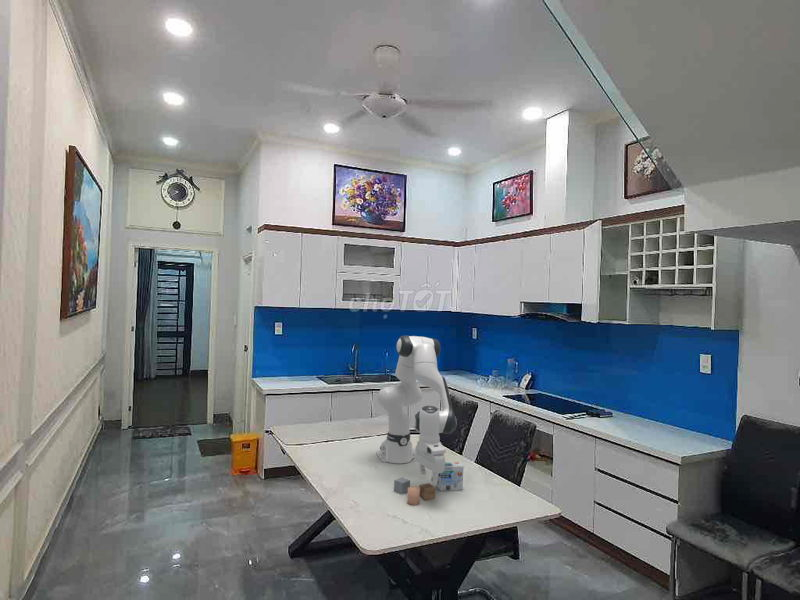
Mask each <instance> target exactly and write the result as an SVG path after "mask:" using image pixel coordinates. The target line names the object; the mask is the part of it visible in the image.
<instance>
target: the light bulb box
mask: <svg viewBox="0 0 800 600" xmlns="http://www.w3.org/2000/svg"><path fill="white" fill-rule="evenodd" d="M463 482H464V465H463V464H462V463H461V462H460V461H445V469H444V472H443V473H439V474H438V476H437V481H436V486H437V488H438V490H439V491H441V492H444V491H445V492H446V491H463V488H464V486H463V484H464V483H463Z"/></svg>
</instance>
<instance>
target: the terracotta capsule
mask: <svg viewBox="0 0 800 600" xmlns="http://www.w3.org/2000/svg"><path fill="white" fill-rule="evenodd" d="M419 496H420V488H419V486H415V485H412V486H411V485H410V487H408V492H407V497H406V498H407V500H406V501H407V502H406V503H407V504H408V505H409V506H418V505H419V504H420V497H419Z"/></svg>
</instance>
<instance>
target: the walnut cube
mask: <svg viewBox="0 0 800 600" xmlns="http://www.w3.org/2000/svg"><path fill="white" fill-rule="evenodd" d="M418 487H419V488H420V496H419V498H420V499H422V500H423V501H430V500H435V499H436V498H435V497H436V487H435V486H434V485H432V483H421V484H419V485H418Z"/></svg>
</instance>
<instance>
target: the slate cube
mask: <svg viewBox="0 0 800 600" xmlns="http://www.w3.org/2000/svg"><path fill="white" fill-rule="evenodd" d="M408 487H411V479H407V478H405V477H403V476H402V477H399V478H396V479H393V492H395V493H397V494H400V495H404V494H408Z"/></svg>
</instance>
